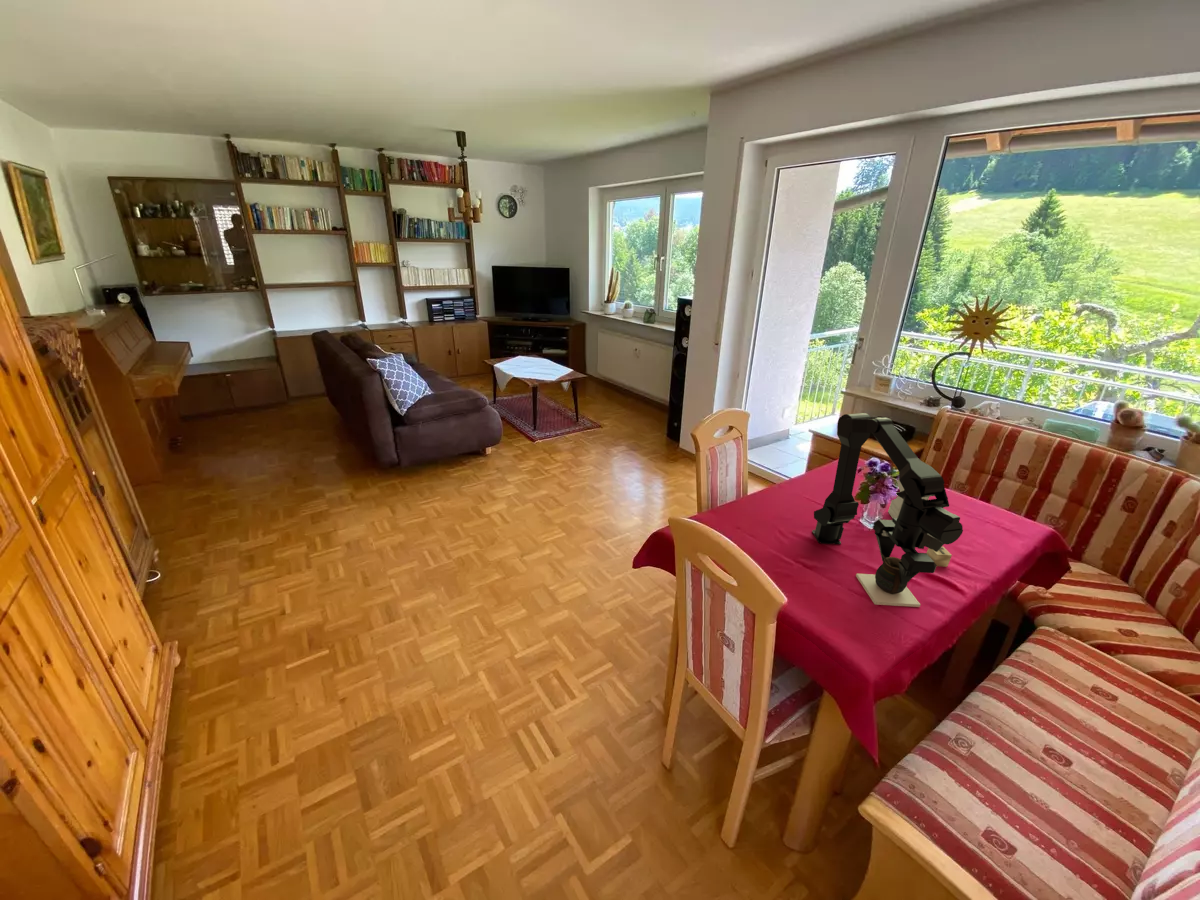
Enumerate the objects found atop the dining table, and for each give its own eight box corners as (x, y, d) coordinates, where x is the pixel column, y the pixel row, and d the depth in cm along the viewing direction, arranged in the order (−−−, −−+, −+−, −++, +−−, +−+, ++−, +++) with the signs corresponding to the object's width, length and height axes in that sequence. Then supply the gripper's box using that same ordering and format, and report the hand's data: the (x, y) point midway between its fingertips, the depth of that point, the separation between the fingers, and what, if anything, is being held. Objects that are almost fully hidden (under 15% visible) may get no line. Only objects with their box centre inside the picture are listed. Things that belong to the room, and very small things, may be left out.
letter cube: (932, 566, 137) (937, 554, 136) (924, 557, 141) (929, 545, 139) (947, 567, 137) (952, 554, 136) (938, 558, 141) (943, 546, 139)
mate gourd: (908, 599, 123) (920, 567, 119) (876, 595, 124) (887, 563, 120) (897, 580, 129) (908, 549, 125) (867, 577, 130) (877, 546, 126)
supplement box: (919, 526, 156) (932, 491, 151) (894, 523, 157) (906, 488, 152) (911, 514, 163) (923, 480, 157) (887, 511, 164) (898, 477, 159)
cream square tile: (874, 604, 122) (875, 601, 122) (855, 575, 132) (856, 573, 132) (919, 607, 122) (920, 604, 121) (897, 578, 132) (898, 575, 131)
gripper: (970, 544, 109) (947, 599, 116) (924, 502, 126) (906, 552, 133) (919, 542, 110) (899, 596, 116) (880, 499, 127) (864, 549, 133)
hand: (893, 572), depth 124 cm, fingers open, 9 cm apart
